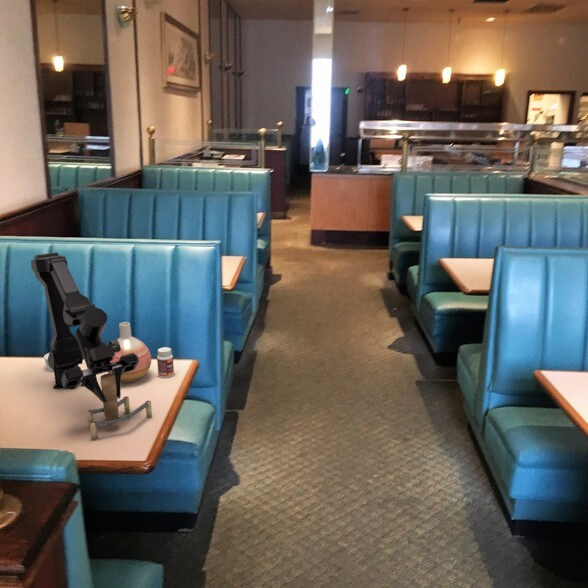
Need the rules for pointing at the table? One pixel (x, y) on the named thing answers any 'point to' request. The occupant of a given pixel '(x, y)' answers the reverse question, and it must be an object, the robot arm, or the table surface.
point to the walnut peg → (110, 397)
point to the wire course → (127, 410)
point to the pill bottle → (165, 362)
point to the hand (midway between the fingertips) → (112, 400)
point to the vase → (132, 346)
